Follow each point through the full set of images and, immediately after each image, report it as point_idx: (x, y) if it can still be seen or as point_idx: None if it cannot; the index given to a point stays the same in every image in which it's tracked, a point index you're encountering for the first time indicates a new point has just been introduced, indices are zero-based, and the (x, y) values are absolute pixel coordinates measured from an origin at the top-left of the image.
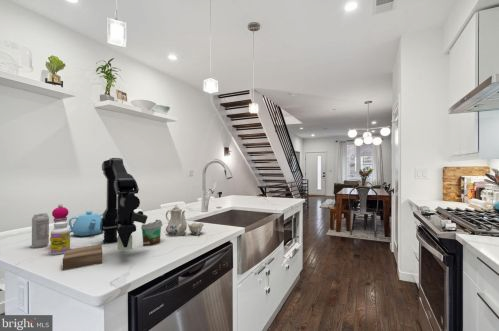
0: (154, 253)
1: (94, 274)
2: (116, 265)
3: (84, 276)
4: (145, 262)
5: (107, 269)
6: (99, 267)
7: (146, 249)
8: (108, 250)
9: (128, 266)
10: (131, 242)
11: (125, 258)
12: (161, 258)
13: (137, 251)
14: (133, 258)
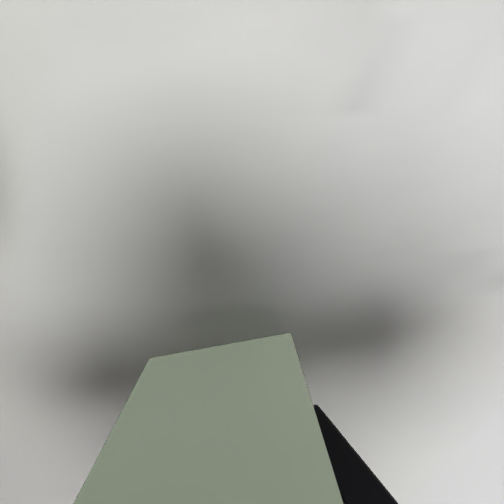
0: (270, 86)
1: (497, 446)
2: (421, 370)
3: (492, 477)
4: (491, 177)
5: (462, 404)
6: (398, 445)
7: (96, 178)
8: (53, 459)
9: (494, 298)
10: (312, 407)
11: (300, 335)
12: (480, 5)
13: (141, 261)
14: (330, 279)
